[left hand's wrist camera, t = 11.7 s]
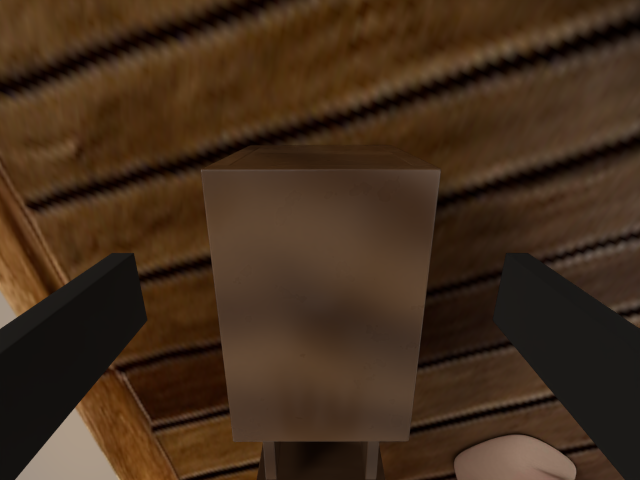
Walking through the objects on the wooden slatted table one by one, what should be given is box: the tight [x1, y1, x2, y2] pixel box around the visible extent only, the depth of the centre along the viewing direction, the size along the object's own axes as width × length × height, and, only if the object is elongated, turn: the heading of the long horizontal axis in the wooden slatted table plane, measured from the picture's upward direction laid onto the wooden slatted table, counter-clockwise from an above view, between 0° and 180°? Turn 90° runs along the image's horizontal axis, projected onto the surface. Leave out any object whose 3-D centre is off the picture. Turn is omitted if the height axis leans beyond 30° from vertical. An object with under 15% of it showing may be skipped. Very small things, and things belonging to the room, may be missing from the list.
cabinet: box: [201, 145, 441, 441], centre depth 25 cm, size 17×11×12 cm, turn 0°
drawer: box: [257, 441, 385, 480], centre depth 29 cm, size 22×10×10 cm, turn 0°
